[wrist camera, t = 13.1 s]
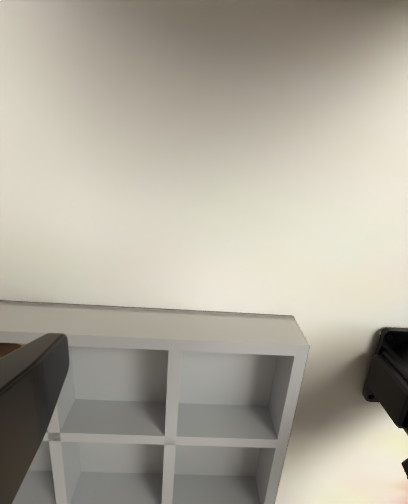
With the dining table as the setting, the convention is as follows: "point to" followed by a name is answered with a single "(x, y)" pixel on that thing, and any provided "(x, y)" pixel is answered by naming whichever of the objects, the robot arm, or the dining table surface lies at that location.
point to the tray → (163, 404)
